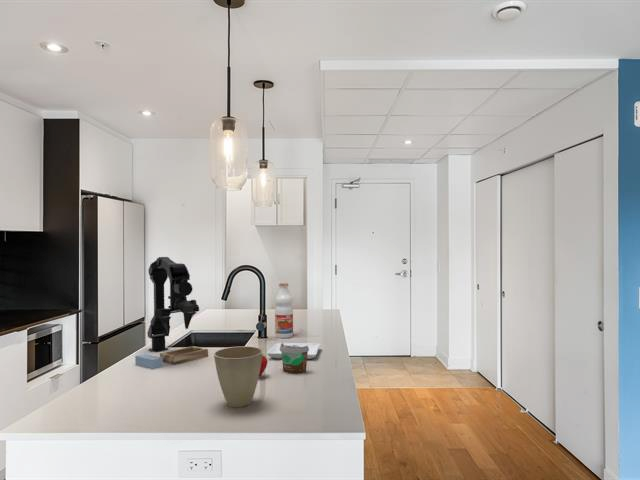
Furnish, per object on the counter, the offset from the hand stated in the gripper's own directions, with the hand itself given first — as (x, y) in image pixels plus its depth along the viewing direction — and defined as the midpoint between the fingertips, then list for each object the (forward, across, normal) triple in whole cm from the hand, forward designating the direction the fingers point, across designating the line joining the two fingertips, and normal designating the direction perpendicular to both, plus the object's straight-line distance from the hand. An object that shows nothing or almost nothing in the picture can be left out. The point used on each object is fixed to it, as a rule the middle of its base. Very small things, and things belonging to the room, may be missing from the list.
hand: (177, 330), depth 193 cm
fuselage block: (+13, -11, +4) cm, 18 cm away
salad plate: (+14, +37, -33) cm, 52 cm away
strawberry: (+13, +4, -44) cm, 46 cm away
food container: (+13, +15, -50) cm, 54 cm away
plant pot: (+13, -20, -59) cm, 63 cm away
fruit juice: (+13, +63, -4) cm, 64 cm away
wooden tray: (+13, +4, +2) cm, 14 cm away
